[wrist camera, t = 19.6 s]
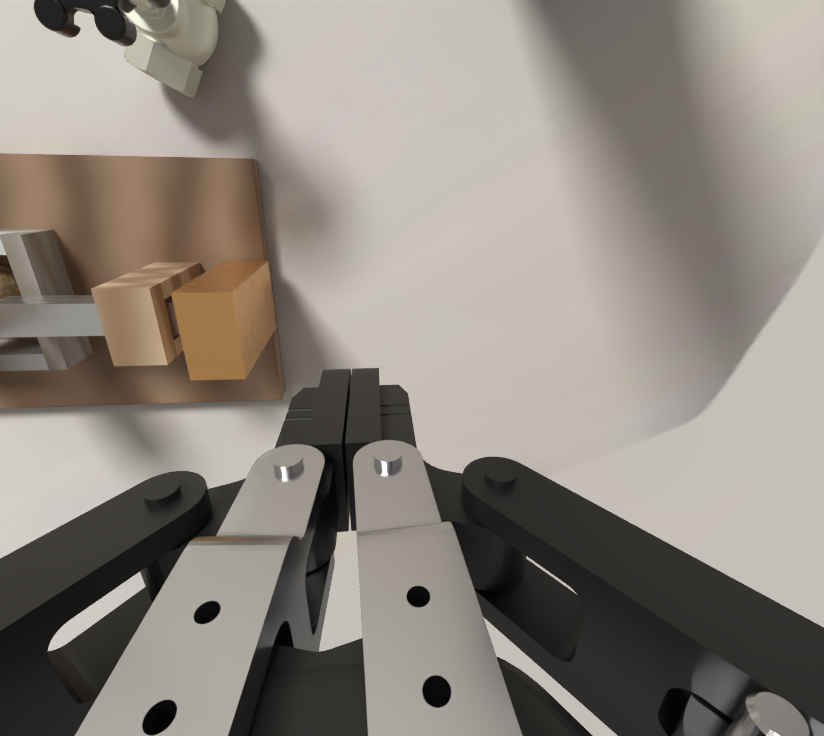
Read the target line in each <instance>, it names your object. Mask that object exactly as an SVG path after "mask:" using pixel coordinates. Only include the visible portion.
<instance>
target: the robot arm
mask: <svg viewBox="0 0 824 736" xmlns="http://www.w3.org/2000/svg"><path fill="white" fill-rule="evenodd" d="M349 515H350V517H351V531H356V530H357V547H358V565H359V583H360V600H361V618H362V635H363V638H362V639H359V640H356V641H353V642H350V643H347V644H344V645H341V646H338V647H335V648H333V649H330V650H326V651H321V652H319V646H320V640H321V634H322V629H323V623H324V618H325V612H326V607H327V602H328V596H329V591H330V586H331V580H332V574H333V569H334V562H335V559H334V550H335V546H336V537H337V532H343V531H348V530H349ZM526 556H528V557H529V558H530V559H532V560H533V561H535V562H536V563H537V564H539V565H540V566H542V567H543V568H545V569H546V570H548V571H549V572H550V573H552V574H553V575H555V576H556V577H558V578H559V579H560V580H562V581H563V582H564V583H566V584H567V585H569V586H570V587H571V588H572V589H573V590H574V591H575V592H576V593H577V594H575V593H574V592H572V591H571V590H570V589H568V588H567V587H565V586H564V585H562V584H561V583H560V582H558V581H557V580H555V579H554V578H553V577H551V576H550V575H548V574H547V573H546V572H544V571H543V570H541V569H540V568H538V567H537V566H536V565H534V564H533V563H531V562H530V561H529V560H527V559H526ZM138 572H141V575H142V578H143V580H144V583H145V586H146V587H145V588H143V589H142V590H141V591H139V592H138V593H136V594H135V595H134V596H132V597H131V598H130V599H128V600H127V601H125V602H124V603H123V604H121V605H120V606H119V607H117V608H116V609H114V610H113V611H112V612H110V613H109V614H108V615H106V616H105V617H103V618H102V619H101V620H99V621H98V622H96V623H95V624H94V625H92V626H91V627H90V628H88V629H87V630H85V631H84V632H83V633H81V634H80V635H79V636H77V637H76V638H74V639H73V640H72V641H70V642H69V643H67V644H66V645H64V646H62V647H61V648H58V649H56V650H53V651H48V646H49V643H50V641H51V639H52V638H53V636H54V635H55V633H56V632H57V631H58V630H59V629H60V628H61V627H62V626H63V625H64V624H65V623H66V622H68V621H69V620H70V619H72V618H73V617H74V616H76V615H77V614H79V613H80V612H82V611H83V610H85V609H86V608H87V607H89V606H90V605H92V604H93V603H95V602H96V601H98V600H99V599H100V598H102V597H103V596H105V595H106V594H108V593H109V592H111V591H112V590H113V589H115V588H116V587H118V586H119V585H121V584H122V583H124V582H125V581H127V580H128V579H129V578H131V577H132V576H134V575H135V574H137V573H138ZM483 617H484V618H485V619H487V620H488V621H489V622H490V623H491V624H492V625H493V626H494V627H496V628H497V629H498V630H499V631H500V632H501V633H502V634H504V635H505V636H506V637H507V638H508V639H509V640H510V641H511V642H513V643H514V644H515V645H516V646H517V647H518V648H520V650H522V651H523V652H524V653H525V654H526V655H527V656H528V657H530V658H531V659H532V660H533V661H534V662H535V663H537V664H538V665H539V666H540V667H541V668H542V669H543V670H544V671H545V672H547V673H548V674H549V675H550V676H551V677H552V678H553V679H555V680H556V681H557V682H558V683H559V684H560V685H561V686H562V687H564V688H565V689H566V690H567V691H568V692H570V693H571V695H573V696H574V697H575V698H576V699H577V700H578V701H579V702H581V703H582V704H583V705H584V706H585V707H586V708H587V709H588V710H590V711H591V712H592V713H593V714H594V715H595V716H596V717H597V718H599V719H600V720H601V721H602V722H603V723H604V724H605V725H607V726H608V727H609V728H610V729H611V730H612V731H613V732H614V733H616V734H617V735H618V736H824V628H823V627H821V626H820V625H818V624H816V623H814V622H812V621H810V620H809V619H807V618H805V617H803V616H801V615H799V614H797V613H795V612H794V611H792V610H790V609H788V608H786V607H784V606H782V605H781V604H779V603H777V602H775V601H774V600H772V599H770V598H768V597H766V596H764V595H762V594H761V593H759V592H757V591H755V590H753V589H751V588H749V587H748V586H746V585H744V584H742V583H740V582H738V581H736V580H735V579H733V578H731V577H729V576H727V575H725V574H724V573H722V572H720V571H718V570H716V569H714V568H712V567H711V566H709V565H707V564H705V563H703V562H701V561H700V560H698V559H696V558H694V557H692V556H690V555H688V554H687V553H685V552H683V551H681V550H679V549H677V548H676V547H674V546H672V545H670V544H668V543H666V542H664V541H663V540H661V539H659V538H657V537H655V536H653V535H652V534H650V533H648V532H646V531H644V530H642V529H641V528H639V527H637V526H635V525H633V524H631V523H629V522H628V521H626V520H624V519H622V518H620V517H618V516H617V515H614V514H613V513H611V512H609V511H607V510H605V509H603V508H602V507H599V506H598V505H596V504H594V503H592V502H591V501H589V500H587V499H585V498H583V497H581V496H580V495H578V494H576V493H574V492H572V491H570V490H568V489H567V488H565V487H563V486H561V485H559V484H557V483H555V482H554V481H552V480H550V479H548V478H546V477H544V476H543V475H541V474H539V473H537V472H535V471H533V470H532V469H530V468H528V467H526V466H524V465H522V464H520V463H518V462H516V461H514V460H511V459H507V458H502V457H484V458H480V459H477V460H474V461H473V462H471V463H470V464H468V465H467V466H466V468H465V469H464V471H463V474H461V473H455V472H449V471H445V470H441V469H438V468H436V467H433V466H431V465H430V464H428V463H426V462H425V461H424V460H423V458H422V456H421V453H420V452H419V451H418V450H417V447H416V441H415V435H414V429H413V423H412V417H411V410H410V405H409V398H408V393H407V392H406V391H405V390H404V389H403V388H401V387H400V386H399V385H379V368H364V369H352V377H351V370H350V369H334V370H323V372H322V377H321V381H320V385H319V388H303V389H302V390H301V391H300V392H299V393H297V394H296V395H295V396H294V397H293V398H292V401H291V403H290V406H289V411H288V412H287V415H286V418H285V421H284V423H283V426H282V429H281V432H280V435H279V438H278V441H277V443H276V446H275V448H274V449H272V450H270V451H268V452H266V453H264V454H263V455H262V456H260V457H259V458H258V459H257V460H256V461H255V463H254V464H253V466H252V468H251V470H250V472H249V474H248V476H247V478H245V479H243V480H240V481H237V482H234V483H230V484H226V485H222V486H218V487H215V488H211V489H207V485H206V481H205V480H204V478H203V477H202V476H201V475H199V474H197V473H194V472H189V471H176V472H169V473H164V474H161V475H158V476H155V477H152V478H150V479H148V480H146V481H144V482H142V483H140V484H138V485H136V486H134V487H132V488H131V489H129V490H127V491H125V492H123V493H121V494H119V495H118V496H116V497H114V498H112V499H110V500H108V501H106V502H105V503H103V504H101V505H99V506H97V507H95V508H94V509H92V510H90V511H88V512H86V513H84V514H82V515H81V516H79V517H77V518H75V519H73V520H71V521H69V522H68V523H66V524H64V525H62V526H60V527H58V528H56V529H55V530H53V531H51V532H49V533H47V534H45V535H43V536H42V537H40V538H38V539H36V540H34V541H32V542H30V543H29V544H27V545H25V546H23V547H21V548H19V549H17V550H16V551H14V552H12V553H10V554H8V555H6V556H4V557H3V558H1V559H0V736H592V735H591V734H590V733H589V732H588V731H587V730H586V729H585V728H584V727H583V726H582V725H581V724H580V723H579V722H578V721H577V720H576V719H574V717H573V716H571V714H570V713H568V712H567V711H566V710H565V709H564V708H563V707H562V706H561V705H560V704H559V703H558V702H557V701H556V700H555V699H554V698H553V697H552V696H551V695H550V694H549V693H548V692H547V691H546V690H545V689H543V688H542V687H541V686H540V685H539V684H538V683H537V682H535V681H534V680H533V679H532V678H530V677H529V676H528V675H526V674H525V673H524V672H523V671H521V670H520V669H518V668H517V667H515V666H513V665H511V664H510V663H508V662H507V661H505V660H503V659H501V658H499V657H496V654H495V651H494V648H493V645H492V642H491V639H490V636H489V633H488V630H487V627H486V624H485V621H484V618H483Z"/></svg>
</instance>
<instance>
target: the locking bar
mask: <svg viewBox="0 0 824 736" xmlns="http://www.w3.org/2000/svg"><path fill="white" fill-rule="evenodd" d="M164 300H165V304H166V309H167V313H168V317H169V322H170V326H171V330H172V335H180V336H181V341H182V345H183V350H184V354H185V359H186V363H187V368H188V372H189V377H190V381H192V380H230V379H246V377H247V376H248V374H249V372H250V371H251V369H252V367H253V366H254V364H255V362H256V361H257V359H258V357H259V356H260V354H261V352H262V351H263V349H264V347H265V346H266V344H267V342H268V341H269V339H270V337H271V336H272V334H273V332H274V331H275V329H276V320H275V312H274V304H273V296H272V288H271V279H270V271H269V263H268V261H223V262H221V263H220V264H218V265H216V266H215V267H213V268H211V269H210V270H208V271H206V272H205V273H203V274H201V275H200V276H198V277H196V278H195V279H193V280H191V281H190V282H188V283H186V284H185V285H183V286H181V287H180V288H178V289H176V290H175V291H173V292H171V296H169V297H168V298H166V299H164ZM59 336H105V334H104V331H103V328H102V324H101V321H100V318H99V314H98V311H97V308H96V304H95V301H94V298H93V295H52V296H8V297H5V298H2V299H0V337H59Z"/></svg>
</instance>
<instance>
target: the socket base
mask: <svg viewBox="0 0 824 736" xmlns="http://www.w3.org/2000/svg"><path fill="white" fill-rule="evenodd" d="M223 261H268V263H269V256H268V248H267V239H266V231H265V223H264V215H263V206H262V198H261V190H260V182H259V173H258V165H257V160H256V159H233V158H186V157H139V156H92V155H44V154H0V265H4V266H7V267H10V268H11V269H12V271H13V274H14V277H15V279H16V282H17V285H18V287H19V290H20V293H21V295H22V296H52V295H93V298H94V301H95V304H96V308H97V311H98V314H99V318H100V321H101V324H102V328H103V331H104V334H105V336H59V337H0V408H28V407H60V406H93V405H125V404H157V403H190V402H222V401H254V400H282V398H283V395H284V392H285V388H284V380H283V372H282V363H281V355H280V347H279V339H278V330H277V322H276V329H275V331H274V332H273V334H272V336H271V337H270V339H269V341H268V342H267V344H266V346H265V347H264V349H263V351H262V352H261V354H260V356H259V357H258V359H257V361H256V362H255V364H254V366H253V367H252V369H251V371H250V372H249V374H248V376H247V377H246V379H230V380H192V381H190V377H189V372H188V368H187V363H186V359H185V354H184V350H183V345H182V341H181V336H180V335H172V330H171V326H170V322H169V317H168V313H167V309H166V304H165V300H164V299H166V298H168V297H169V296H171V292H173V291H175V290H176V289H178V288H180V287H181V286H183V285H185V284H186V283H188V282H190V281H191V280H193V279H195V278H196V277H198V276H200V275H201V274H203V273H205V272H206V271H208V270H210V269H211V268H213V267H215V266H216V265H218V264H220V263H221V262H223ZM269 271H270V264H269ZM270 279H271V273H270ZM271 288H272V281H271ZM272 296H273V289H272ZM273 304H274V297H273ZM274 312H275V306H274ZM275 320H276V314H275Z"/></svg>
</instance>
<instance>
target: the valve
mask: <svg viewBox="0 0 824 736" xmlns="http://www.w3.org/2000/svg"><path fill="white" fill-rule="evenodd" d="M225 2H226V0H35V2H34V11H35V14H36V16H37V18H38V20H39V21H40V22H41V23H42V25H44V26H45V27H46V28H48V29H50V30H52V31H54V32H56V33H58V34H61V35H63V36H65V37H75V36H76V35H78V33H79V32H80V27H78V26H76V25H74V14H75V13H76V12H77V11H81V12H85V13H90V14H93V15H94V19H95V24H96V26H97V28H98V30H99V31H100V33H101V34H102V35H103V36H104V37H106V38H107V39H109V40H111V41H113V42H115V43H117V44H119V45H121V46H126V48H125V52H124V56H123V57H124V58H125V59H126V60H127V62H128V63H130V64H131V65H133V66H134V67H136V68H138V69H139V70H141V71H143V72H144V73H146V74H148V75H150V76H151V77H153V78H155V79H156V80H158V81H160V82H162V83H164V84H165V85H167V86H169V87H171V88H173V89H175V90H176V91H178V92H180V93H182V94H184V95H186V96H188V97H195V95H196V92H197V89H198V86H199V83H200V80H201V77H202V74H203V72H202V71H201V70H199V69H198V67H199V66H201V65H202V64H204V63H205V62H206V61H207V60H208V59H209V58H210V57H211V55H212V54H213V52H214V50H215V48H216V45H217V40H218V19H217V14H216V11H217V12H219V13H221V14H222V11H223V8H224V5H225ZM125 15H126V16H125ZM128 19H129V20H130V21H131V22H132V23H131V22H129V20H128ZM135 26H136V27H137V28H138V31H137V30H136V27H135Z"/></svg>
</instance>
